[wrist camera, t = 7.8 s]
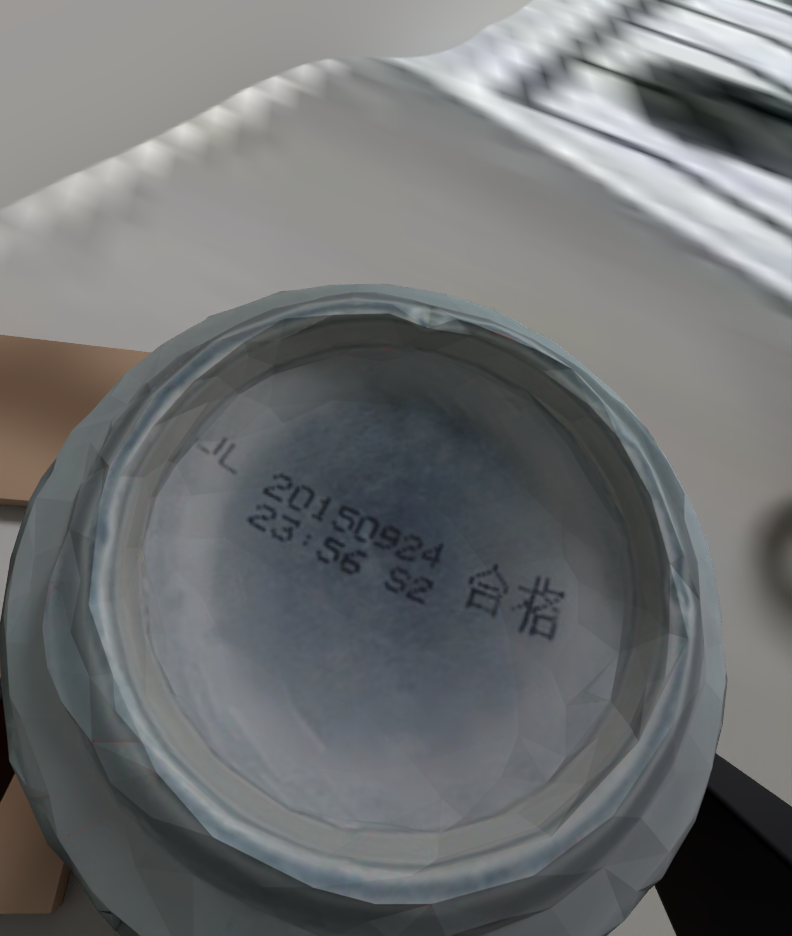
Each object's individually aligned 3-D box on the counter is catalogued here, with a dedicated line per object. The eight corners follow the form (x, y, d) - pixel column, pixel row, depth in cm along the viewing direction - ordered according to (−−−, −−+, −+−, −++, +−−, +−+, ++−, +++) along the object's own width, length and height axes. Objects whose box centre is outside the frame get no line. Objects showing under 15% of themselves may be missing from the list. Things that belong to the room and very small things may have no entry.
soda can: (426, 836, 14) (864, 1269, 3) (168, 762, 14) (-381, 928, 3) (474, 582, 17) (767, 337, 6) (266, 520, 17) (187, 157, 6)
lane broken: (61, 904, 13) (50, 913, 12) (-269, 907, 12) (-296, 916, 11) (194, 367, 20) (191, 357, 19) (-7, 343, 19) (-16, 332, 18)
